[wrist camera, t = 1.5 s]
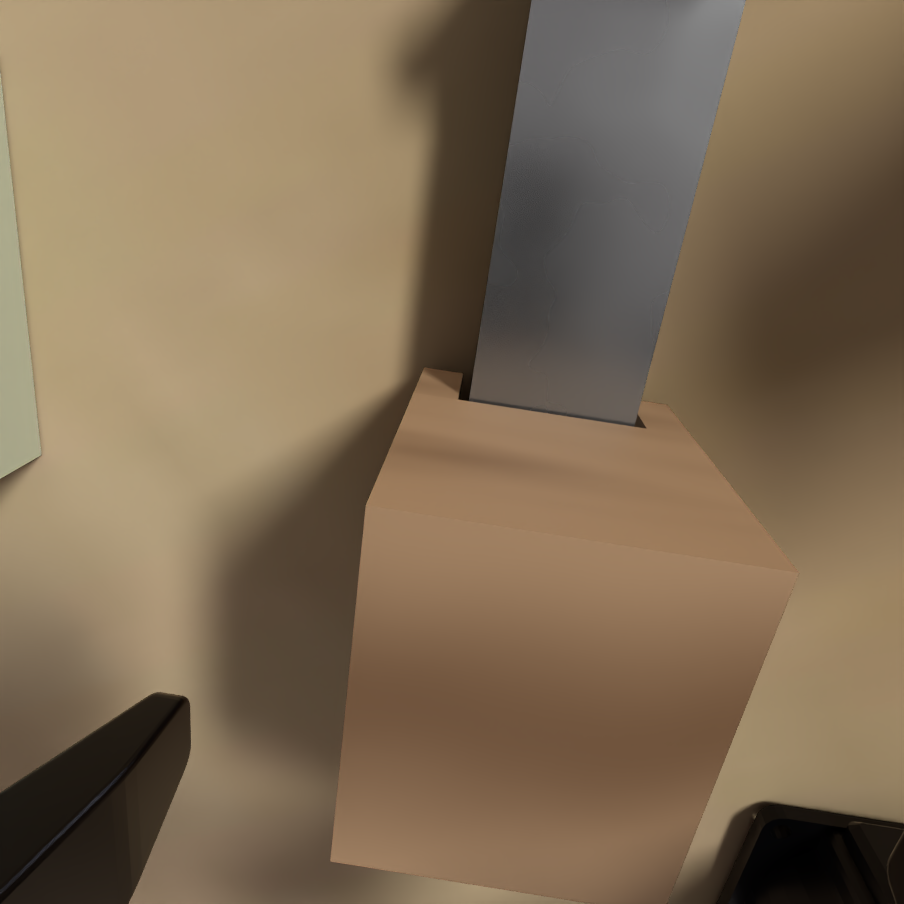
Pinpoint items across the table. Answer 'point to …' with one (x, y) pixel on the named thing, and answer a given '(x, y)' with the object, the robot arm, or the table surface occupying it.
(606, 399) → the rail
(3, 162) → the cabinet
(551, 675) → the block
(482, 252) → the table surface
